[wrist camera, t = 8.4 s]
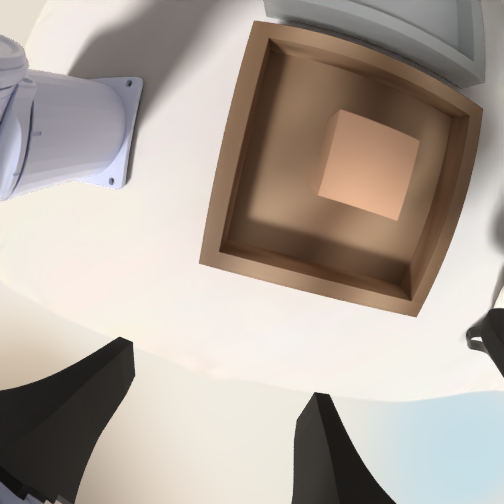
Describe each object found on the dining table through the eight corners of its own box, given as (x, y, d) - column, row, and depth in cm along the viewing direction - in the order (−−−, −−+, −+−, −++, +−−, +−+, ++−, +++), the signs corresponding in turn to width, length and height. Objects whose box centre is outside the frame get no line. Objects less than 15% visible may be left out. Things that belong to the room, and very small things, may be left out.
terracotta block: (310, 184, 15) (317, 195, 12) (327, 119, 14) (340, 109, 10) (373, 204, 15) (397, 220, 11) (390, 142, 14) (419, 140, 10)
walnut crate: (212, 245, 18) (199, 263, 15) (259, 40, 13) (254, 20, 10) (401, 295, 18) (416, 317, 15) (458, 112, 13) (482, 108, 10)
